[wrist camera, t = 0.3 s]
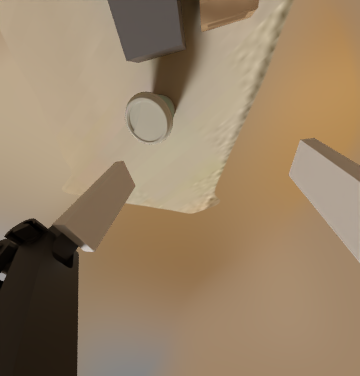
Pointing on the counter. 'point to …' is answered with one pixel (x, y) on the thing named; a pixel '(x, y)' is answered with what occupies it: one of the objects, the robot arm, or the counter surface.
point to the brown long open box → (225, 12)
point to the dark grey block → (148, 27)
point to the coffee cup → (149, 117)
